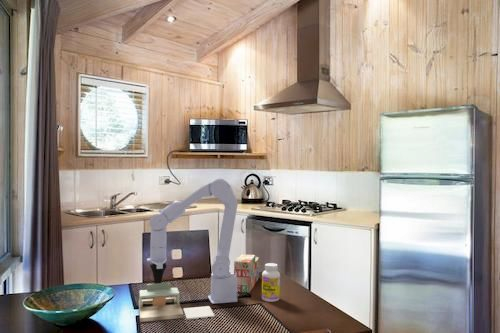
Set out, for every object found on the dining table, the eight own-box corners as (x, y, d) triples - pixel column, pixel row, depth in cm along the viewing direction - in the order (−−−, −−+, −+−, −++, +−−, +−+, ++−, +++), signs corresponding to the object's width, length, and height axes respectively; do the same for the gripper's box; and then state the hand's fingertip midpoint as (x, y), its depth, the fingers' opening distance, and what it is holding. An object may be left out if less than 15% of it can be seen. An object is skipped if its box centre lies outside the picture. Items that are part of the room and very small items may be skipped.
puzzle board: (177, 300, 142) (177, 296, 142) (183, 317, 126) (183, 314, 126) (138, 303, 138) (138, 300, 138) (140, 322, 122) (140, 318, 122)
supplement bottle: (258, 300, 143) (259, 265, 143) (265, 295, 149) (265, 261, 149) (276, 303, 140) (277, 267, 140) (281, 297, 146) (282, 263, 146)
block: (164, 304, 138) (164, 292, 138) (165, 308, 134) (165, 296, 134) (152, 305, 137) (152, 293, 137) (153, 309, 133) (153, 297, 133)
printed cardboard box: (245, 277, 173) (245, 249, 173) (259, 278, 172) (259, 250, 172) (233, 292, 152) (234, 260, 152) (249, 293, 151) (249, 261, 151)
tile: (209, 307, 135) (209, 305, 135) (214, 317, 127) (214, 315, 127) (183, 309, 132) (183, 308, 132) (186, 319, 124) (186, 318, 124)
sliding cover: (176, 297, 140) (177, 281, 140) (179, 303, 134) (179, 287, 134) (139, 300, 137) (139, 284, 137) (139, 306, 130) (140, 290, 130)
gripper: (146, 243, 148) (145, 279, 148) (148, 251, 134) (147, 290, 134) (165, 242, 150) (164, 277, 150) (169, 250, 136) (168, 289, 136)
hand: (157, 283), depth 142 cm, fingers closed
